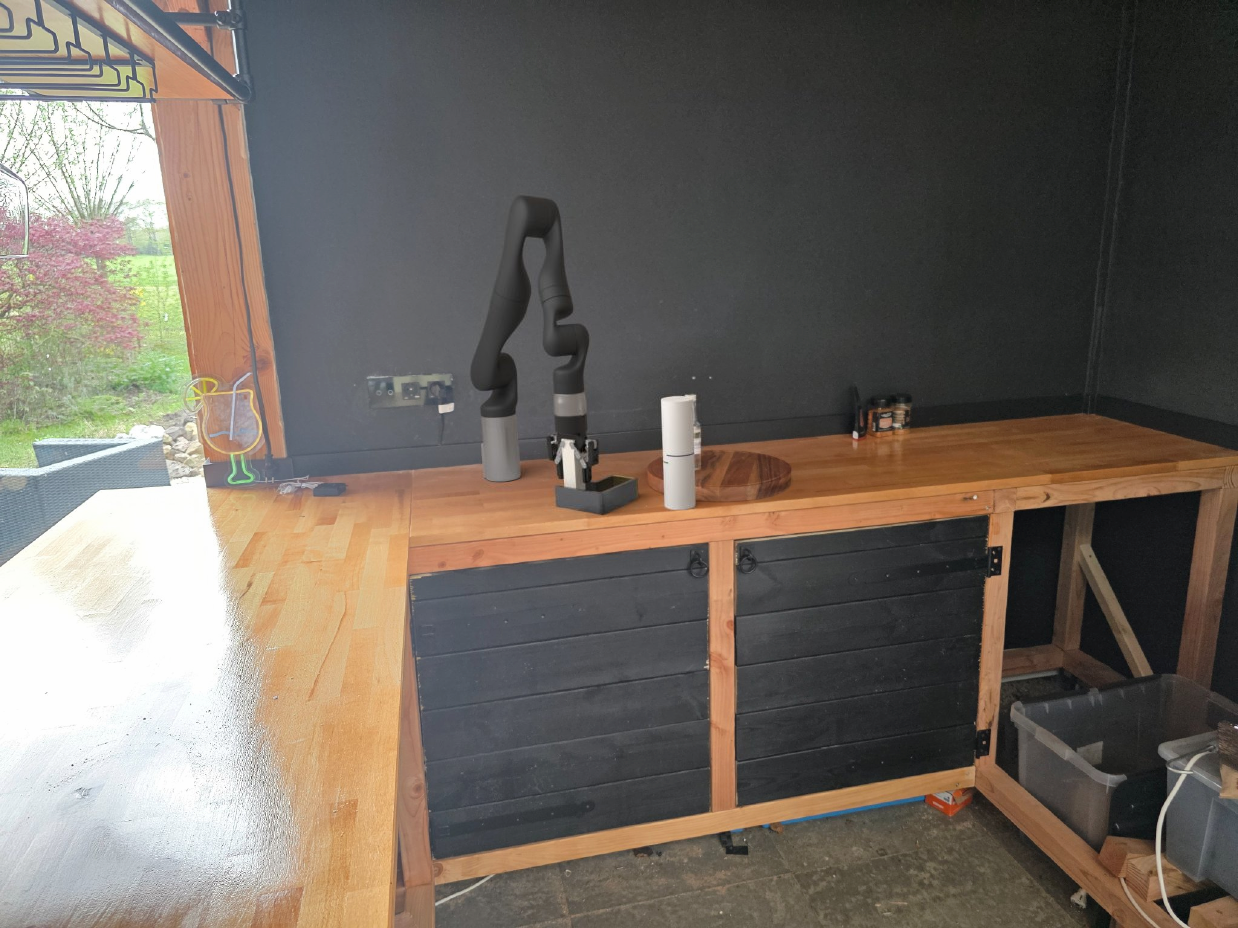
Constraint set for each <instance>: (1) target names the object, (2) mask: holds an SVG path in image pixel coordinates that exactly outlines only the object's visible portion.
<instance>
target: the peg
mask: <svg viewBox="0 0 1238 928" xmlns="http://www.w3.org/2000/svg"><path fill="white" fill-rule="evenodd" d="M561 440H562V441H565V446H564V448H562V456H563V471H564V479H563V481H564V483H563V484H564V485H563V486H565V487H571V488H577V489H583V490H586V488H585V483H583V478H582V468H583V466H582V464H581V462H580V461H579V460H578V459H577V458H576V456H575V454H574V449H571V447H570V445H569V443H570V442H573V443H575V440H571V439H561ZM581 454H583V452H582V453H581Z"/></svg>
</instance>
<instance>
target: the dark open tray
mask: <svg viewBox="0 0 1238 928" xmlns="http://www.w3.org/2000/svg"><path fill="white" fill-rule="evenodd" d="M638 480H639V479H638V477H631V476H625V475H620V474H619V475H618V474H610V475H607V476H605V477H603V478H600V479H598V480H591V481H590V482H589V483H585V488H586V490H583V489H577V488H571V487H565V486H564V485H558V484H557V485H554V496H555V506H556V507H557V506H560V507H559V508H563V509H568V510H573V509H574V511H578V512H579V511H580V512H585V513H590V514H596V515H600V516H601V515H602V516H604V515H607V514H608V513H610V512H612V511H614V510H616V509H619V508H621V507H623V506H625V505H627V504H630V503H631V502H634V501H636V500H639V497H640V496H639V481H638Z"/></svg>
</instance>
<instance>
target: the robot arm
mask: <svg viewBox="0 0 1238 928" xmlns="http://www.w3.org/2000/svg"><path fill="white" fill-rule="evenodd" d="M560 213H561V212H560V210H559V207H558V205H557V203H556V202H555V201H554V200H553V199H550V198H546V197H540V196H534V195H531V196H530V195H525V194H524V195H522V194H521V195H518V196H515V198H514V199H513V200H512V202H511V204H510V207H509V210H508V215H507V221H506V228H505V233H504V239H503V240H504V241H503V246H502V253H501V258H500V261H499V266H498V270H497V275H496V279H495V281H494V283H493V284H494V285H493V289H492V293H491V297H490V301H489V306H488V311H487V315H486V318H485V322H484V325H483V328H482V331H481V335H480V338H479V341H478V344H477V347H476V350H475V352H474V355H473V357H472V361H471V364H470V371H469V372H470V373H469V374H470V381H471V383H472V385H473V387H474V388H475V389H476V390H478V391H480V392H488V391H489V392H490V391H491V395H490V396H489V397H488V399H486V400H485V401H484V402H483V403H482V404H481V405H480V409H479V410H480V420H481V421H480V422H481V431H482V442H481V443H480V449H481V450H480V451H481V460H482V461H481V462H482V473H483V479H486V480H488V481H489V482H490V481H491V482H499V483H500V482H508V481H514V480H517V479H519V478H521V477H522V473H521V458H520V448H519V446H520V445H519V435H518V422H517V404H518V399H519V397H518V396H519V395H518V372H517V365H516V362H515V360H514V358H513V357H512V356H511V355H510V354H509V353H506V352H502V350H503V348H504V346H505V345H506V343H507V341H508V340H509V339H510V337H511V336H512V335H513V334H514V332H515V331H516V330H517V329H518V327H519V326H520V325H521V323H522V322H523V320H524V319H525V316H526V315H527V311H528V308H529V307H528V306H529V303H530V300H531V296H532V285H531V281H530V277H529V275H528V273H527V270H526V265H525V263H524V257H523V253H524V247H525V246H524V245H525V241H526V239H527V238H535V239H542V241H543V244H544V248H545V257H544V260H543V263H542V265H541V268H540V271H539V274H538V277H537V291H538V295H539V299H540V300H539V301H540V304H541V307H542V308H541V309H542V314H543V331H542V347H543V349H544V351H545V353H546V354H547V355H548V356H550V357H554V358H557V357H559V358H560V357H569V356H571V357H570V359H569V361H568V362H567V363H566V364H563V365H561V366H558V367H556V368H554V369H553V371H552V382H553V385H552V386H553V415H554V416H553V417H554V428H555V429H554V430H555V432H556V433H554V434H551V435H548V436H546V445H547V446H546V447H547V454H548V455H547V456H548V460H549V461H552V462H554V463H555V466H556V476H557V478H558V480H564V471H563V456H562V448H564V446H565V441H562V440H561V439H571V440H575V443H573V442H570V443H569V445H570V447H571V449H574V454H575V456H576V458H577V459H578V460H579V461H580V462H581V464H582V466H583V468H582V478H583V483H589V482H590V481H593V480H592V479H593V473H592V471H593V470H592V467H594V466H596V465H599V462H600V461H599V458H600V456H599V452H600V451H599V449H600V447H599V445H600V442H599V440H598V439H591V438H590V439H589V438H588V435H587V432H588V413H587V400H586V399H587V398H586V393H585V379H584V378H585V376H584V373H585V367H586V361H587V360H586V359H587V356H588V352H589V347H590V334H589V330H588V328H586V326H585V325H584V324H582V323H566V324H558V323H557V322H558V321H560V320H564V319H566V318H568V317H570V316H571V315H572V314H573V312H574V303H573V299H572V294H571V291H570V286H569V283H568V278H567V274H566V266H565V264H566V263H565V252H564V240H563V229H562V220H561V214H560ZM582 452H583V454H581V453H582Z"/></svg>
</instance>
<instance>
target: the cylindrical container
mask: <svg viewBox="0 0 1238 928" xmlns="http://www.w3.org/2000/svg"><path fill="white" fill-rule="evenodd" d="M660 406H661V412H660V413H661V434H662V435H661V436H662V437H661V438H662V441H661V442H662V460H663V461H662V462H663V463H662V465H663V466H662V467H663V495H664V497H663V499H664V501H663V502H664V508H665V509H668V510H672V511H673V510H674V511H684V510H685V511H686V510H690V509H693V508H695V507H696V477H695V476H696V475H695V473H696V472H695V468H696V466H695V435H694V434H695V432H694V398H693V397H691V396H686V395H683V396H682V395H673V396H667V397H662V398H661V399H660Z"/></svg>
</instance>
